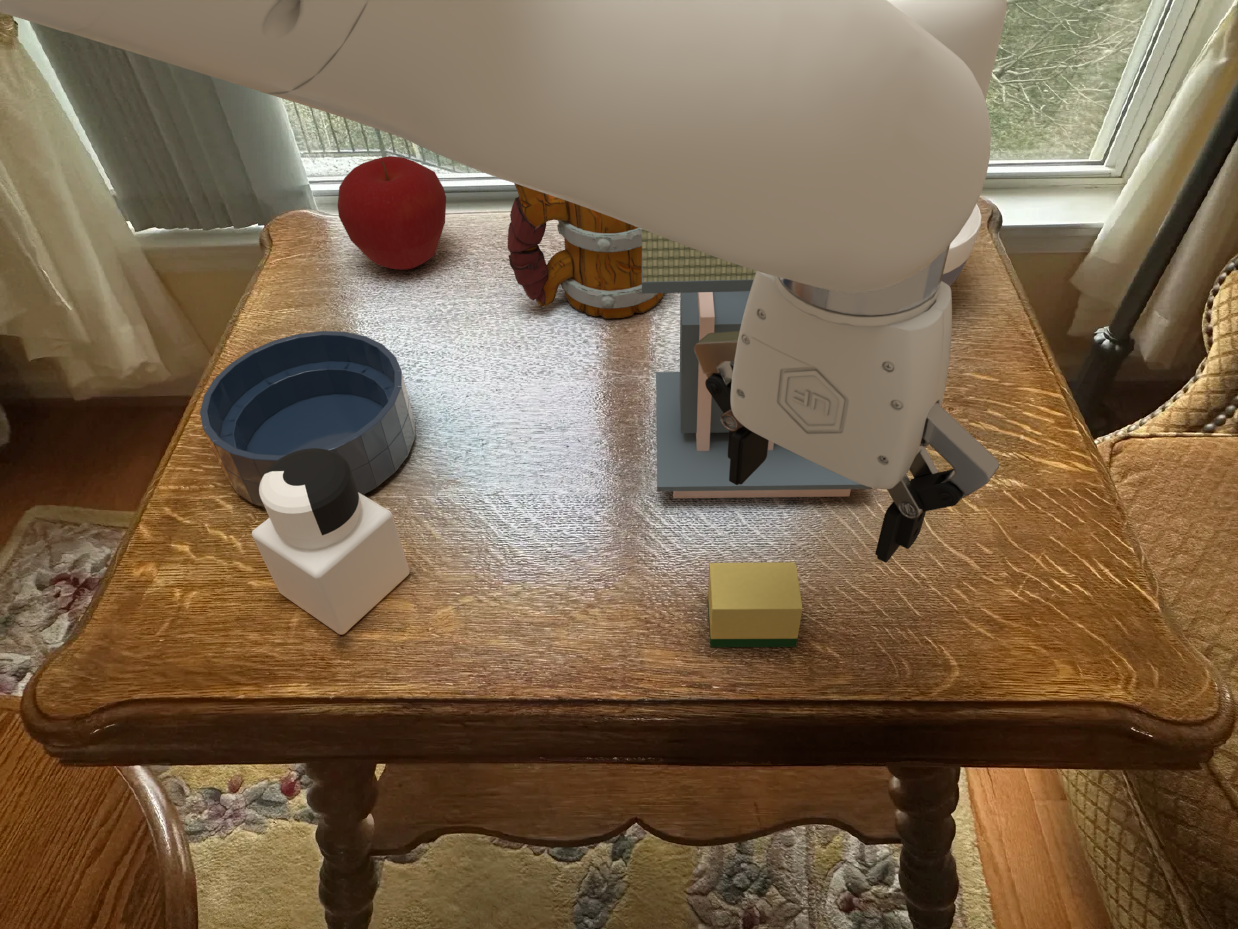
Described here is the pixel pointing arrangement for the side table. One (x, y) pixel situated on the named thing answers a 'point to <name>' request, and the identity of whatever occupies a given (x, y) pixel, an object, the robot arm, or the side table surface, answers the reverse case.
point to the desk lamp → (688, 409)
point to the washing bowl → (310, 408)
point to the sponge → (754, 604)
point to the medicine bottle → (327, 539)
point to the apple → (393, 211)
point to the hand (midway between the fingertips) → (817, 506)
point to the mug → (578, 257)
